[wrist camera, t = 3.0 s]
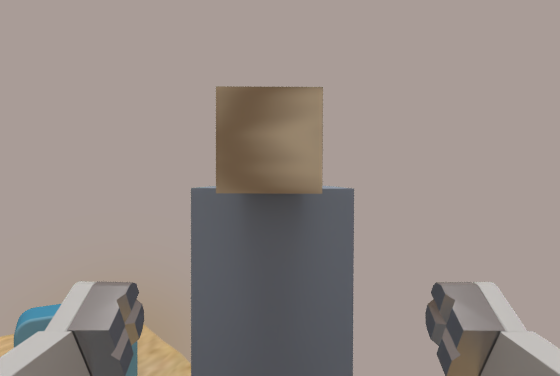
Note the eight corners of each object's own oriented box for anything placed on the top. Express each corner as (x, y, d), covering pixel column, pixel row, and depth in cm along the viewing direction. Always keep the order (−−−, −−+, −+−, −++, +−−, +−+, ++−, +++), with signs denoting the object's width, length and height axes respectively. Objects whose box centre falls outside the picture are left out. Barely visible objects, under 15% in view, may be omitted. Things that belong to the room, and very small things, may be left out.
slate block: (191, 648, 21) (191, 188, 21) (222, 480, 33) (222, 185, 33) (350, 647, 22) (353, 188, 21) (324, 480, 34) (326, 185, 33)
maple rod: (216, 193, 13) (216, 86, 12) (253, 185, 33) (254, 144, 32) (322, 193, 13) (322, 87, 12) (294, 185, 33) (295, 144, 32)
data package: (131, 386, 49) (130, 293, 49) (137, 404, 45) (137, 303, 45) (18, 415, 43) (17, 309, 43) (14, 439, 39) (13, 322, 39)
